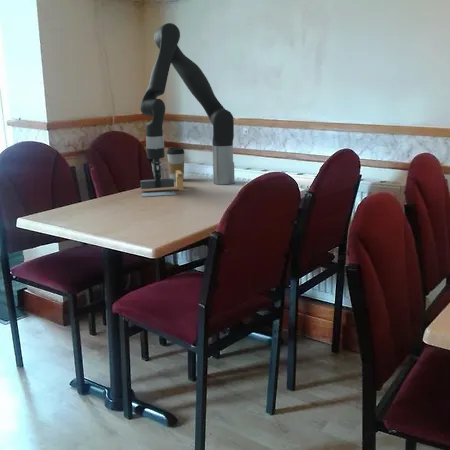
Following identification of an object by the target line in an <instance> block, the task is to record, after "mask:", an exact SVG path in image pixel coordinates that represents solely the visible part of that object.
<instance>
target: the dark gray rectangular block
mask: <svg viewBox="0 0 450 450" xmlns="http://www.w3.org/2000/svg"><path fill="white" fill-rule="evenodd" d="M160 181H161V187H160V188H159V189H163V188H166V189H167V188H175V181H174V179H173V178H170V177H167V178H161V179H160ZM140 189H141V190H148V189H149V190H150V189H157V188H156V185H155V179H154V178H153V179H143V180H140Z"/></svg>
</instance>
